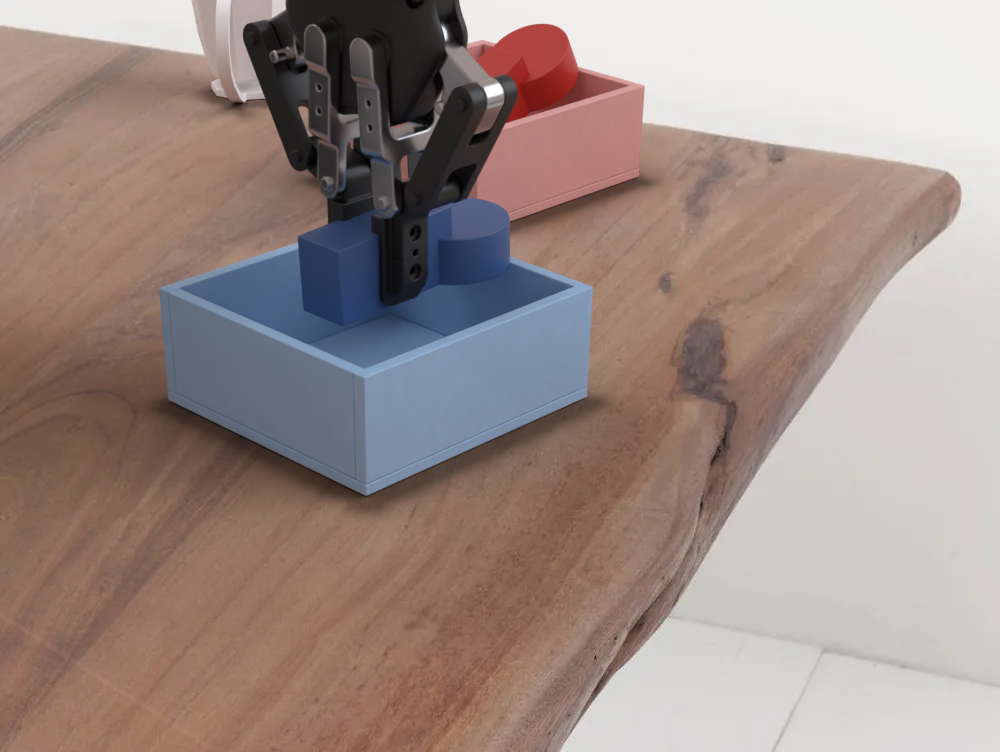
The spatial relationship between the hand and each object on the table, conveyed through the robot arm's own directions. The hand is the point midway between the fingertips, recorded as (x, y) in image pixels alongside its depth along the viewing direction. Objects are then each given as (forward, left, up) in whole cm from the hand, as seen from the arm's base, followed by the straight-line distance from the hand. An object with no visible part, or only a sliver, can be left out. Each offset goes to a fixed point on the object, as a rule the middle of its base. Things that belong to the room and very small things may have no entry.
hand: (378, 290), depth 78 cm
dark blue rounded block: (0, +2, 0) cm, 2 cm away
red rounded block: (-17, +26, -2) cm, 32 cm away
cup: (-37, +24, -5) cm, 45 cm away
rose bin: (-17, +24, -5) cm, 30 cm away
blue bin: (0, 0, -5) cm, 5 cm away
